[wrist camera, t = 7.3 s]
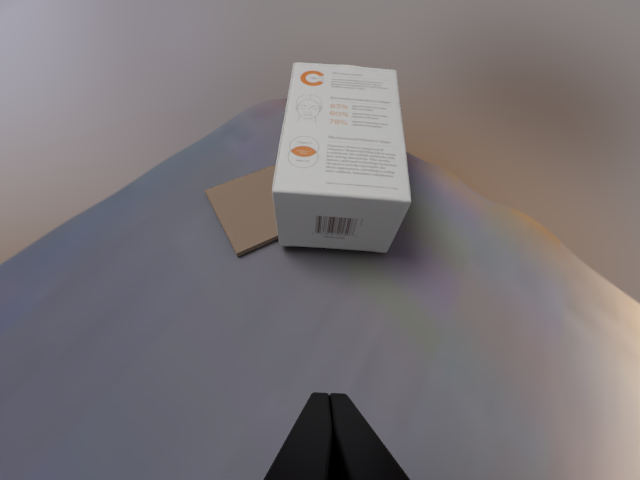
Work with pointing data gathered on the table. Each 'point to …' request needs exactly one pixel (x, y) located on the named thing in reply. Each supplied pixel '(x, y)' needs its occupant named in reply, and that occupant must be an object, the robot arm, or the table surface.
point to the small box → (341, 159)
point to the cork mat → (246, 210)
